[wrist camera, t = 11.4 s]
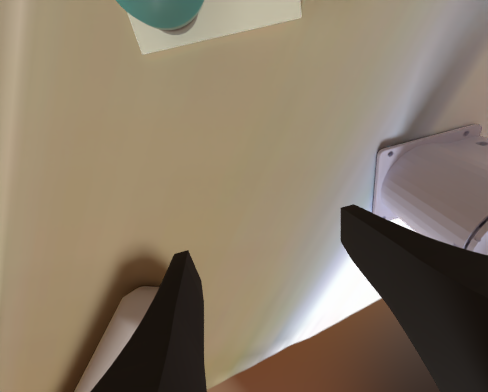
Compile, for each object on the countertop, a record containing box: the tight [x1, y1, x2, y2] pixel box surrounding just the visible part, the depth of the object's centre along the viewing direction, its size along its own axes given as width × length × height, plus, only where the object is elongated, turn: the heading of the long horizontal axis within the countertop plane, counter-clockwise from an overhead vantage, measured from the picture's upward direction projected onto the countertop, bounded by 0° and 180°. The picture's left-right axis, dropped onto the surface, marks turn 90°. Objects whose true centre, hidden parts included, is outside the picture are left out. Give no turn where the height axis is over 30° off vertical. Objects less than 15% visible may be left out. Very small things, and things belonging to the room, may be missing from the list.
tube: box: [74, 286, 159, 392], centre depth 27 cm, size 5×5×25 cm
